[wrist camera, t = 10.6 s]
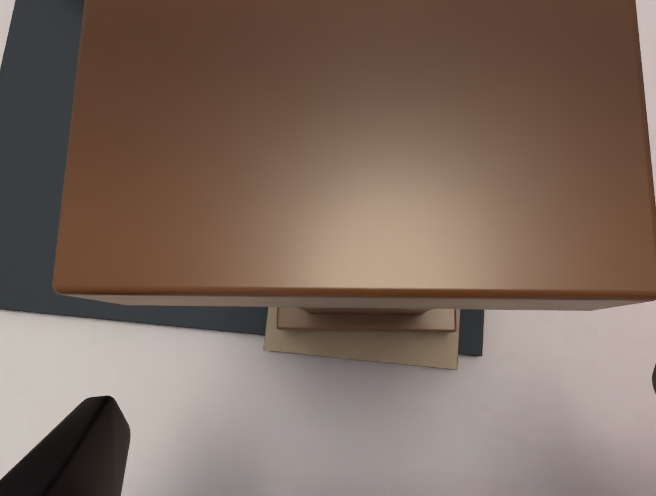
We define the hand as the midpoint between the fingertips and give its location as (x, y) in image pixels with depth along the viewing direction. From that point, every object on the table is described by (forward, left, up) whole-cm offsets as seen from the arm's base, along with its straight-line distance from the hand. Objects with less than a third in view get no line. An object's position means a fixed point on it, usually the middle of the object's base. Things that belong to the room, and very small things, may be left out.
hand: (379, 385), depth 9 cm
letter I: (+3, +1, -9) cm, 9 cm away
